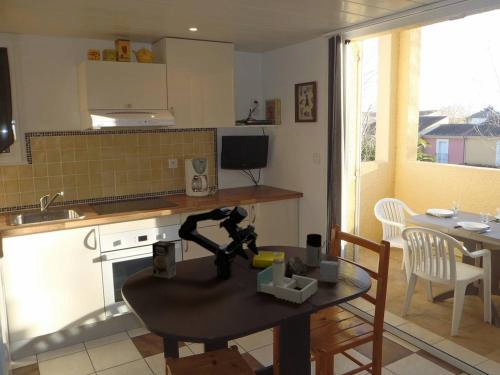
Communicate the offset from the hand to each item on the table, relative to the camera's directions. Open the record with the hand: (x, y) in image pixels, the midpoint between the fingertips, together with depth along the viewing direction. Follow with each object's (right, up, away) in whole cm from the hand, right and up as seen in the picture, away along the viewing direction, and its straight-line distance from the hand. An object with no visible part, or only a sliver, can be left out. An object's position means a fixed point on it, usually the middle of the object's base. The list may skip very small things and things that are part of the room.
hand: (253, 257), depth 196 cm
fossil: (+21, -11, +14) cm, 27 cm away
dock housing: (+18, -14, -9) cm, 24 cm away
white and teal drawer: (+11, -13, -5) cm, 18 cm away
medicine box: (+35, -12, +5) cm, 37 cm away
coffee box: (-42, -11, +13) cm, 46 cm away
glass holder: (+33, -8, +26) cm, 43 cm away
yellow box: (+8, -8, +30) cm, 32 cm away
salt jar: (+11, -12, -5) cm, 17 cm away
